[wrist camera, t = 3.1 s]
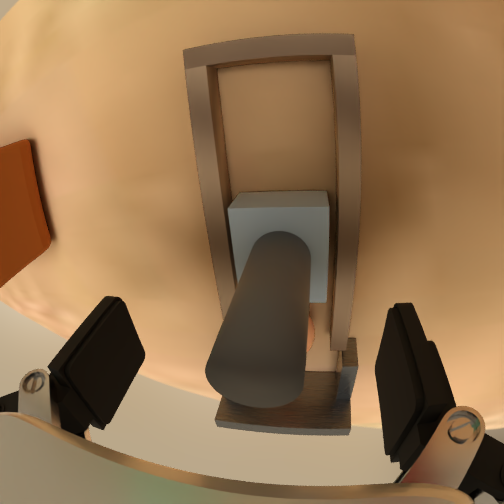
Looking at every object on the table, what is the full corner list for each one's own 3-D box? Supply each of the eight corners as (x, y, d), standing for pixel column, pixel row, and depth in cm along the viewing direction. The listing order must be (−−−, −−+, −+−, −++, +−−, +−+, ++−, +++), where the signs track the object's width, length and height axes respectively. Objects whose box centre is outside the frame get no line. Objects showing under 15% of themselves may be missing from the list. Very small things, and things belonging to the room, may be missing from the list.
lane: (195, 54, 12) (182, 49, 11) (349, 41, 11) (353, 34, 9) (234, 329, 20) (228, 346, 19) (344, 333, 19) (345, 350, 17)
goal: (224, 333, 21) (203, 389, 16) (355, 338, 19) (360, 399, 14) (233, 374, 23) (217, 426, 18) (347, 379, 21) (348, 435, 16)
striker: (239, 192, 15) (157, 308, 7) (326, 190, 14) (342, 317, 6) (249, 275, 18) (199, 415, 9) (325, 276, 17) (324, 427, 9)
